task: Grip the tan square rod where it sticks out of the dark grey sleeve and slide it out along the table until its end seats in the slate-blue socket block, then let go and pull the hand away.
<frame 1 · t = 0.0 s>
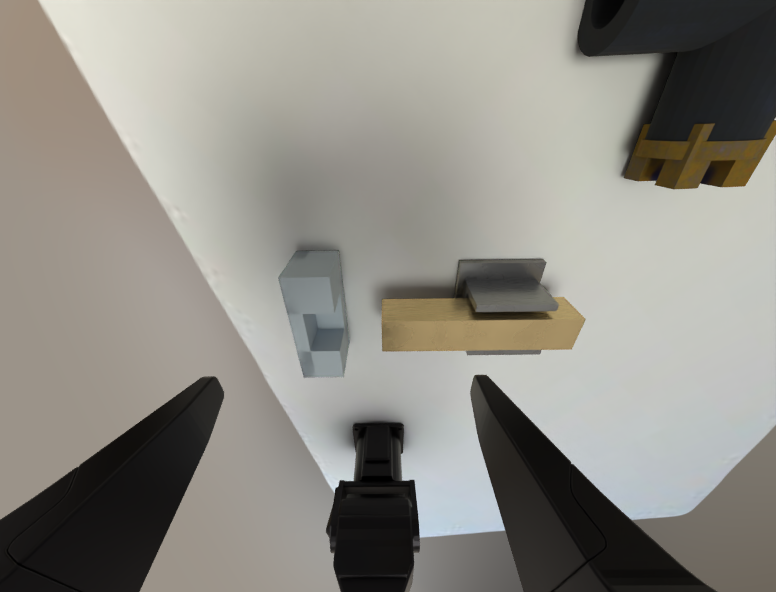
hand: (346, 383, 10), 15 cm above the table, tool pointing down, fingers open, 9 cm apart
grey sleeve: (492, 299, 26), on the table
pipe connector: (685, 73, 17), on the table
slate-blue socket: (325, 301, 26), on the table
tan square rod: (474, 323, 23), point 3 cm above the table, slide at 0.0 cm
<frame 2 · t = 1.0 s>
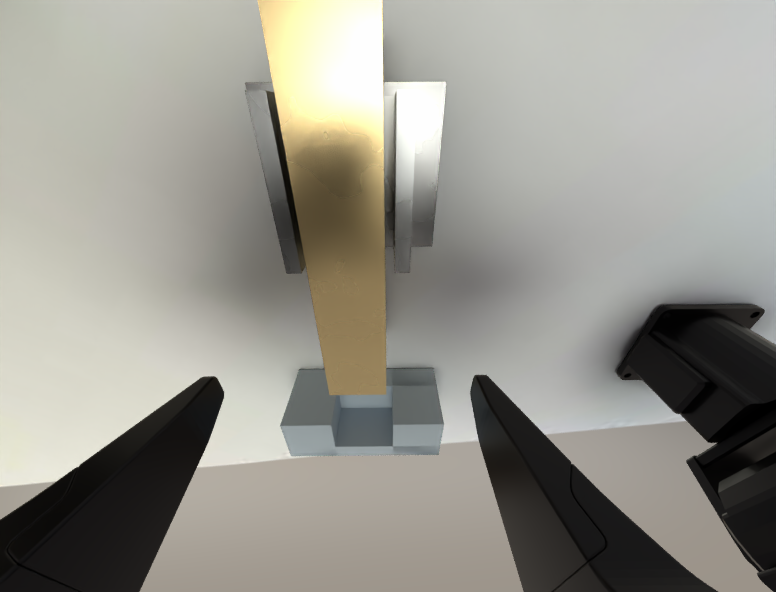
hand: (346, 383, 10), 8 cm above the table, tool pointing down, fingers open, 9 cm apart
grey sleeve: (353, 174, 13), on the table
slate-blue socket: (367, 384, 22), on the table
tan square rod: (349, 251, 12), point 4 cm above the table, slide at 0.0 cm
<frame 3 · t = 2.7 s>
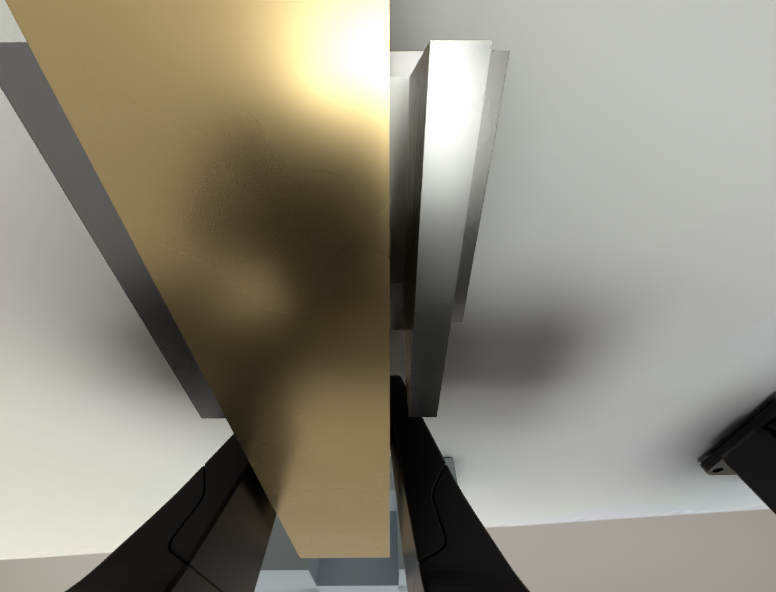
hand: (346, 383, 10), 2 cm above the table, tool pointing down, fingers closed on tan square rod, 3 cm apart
grey sleeve: (336, 214, 8), on the table
slate-blue socket: (363, 474, 16), on the table
tan square rod: (324, 365, 7), point 3 cm above the table, slide at 0.0 cm, touching gripper
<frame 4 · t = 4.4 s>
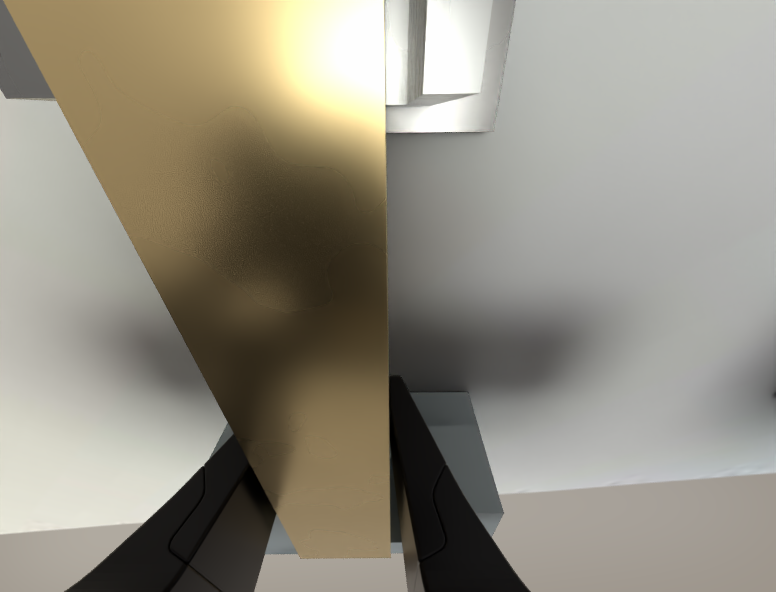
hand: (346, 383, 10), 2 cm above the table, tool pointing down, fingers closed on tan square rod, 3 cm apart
slate-blue socket: (358, 417, 13), on the table
tan square rod: (324, 364, 6), point 4 cm above the table, slide at 5.5 cm, touching gripper
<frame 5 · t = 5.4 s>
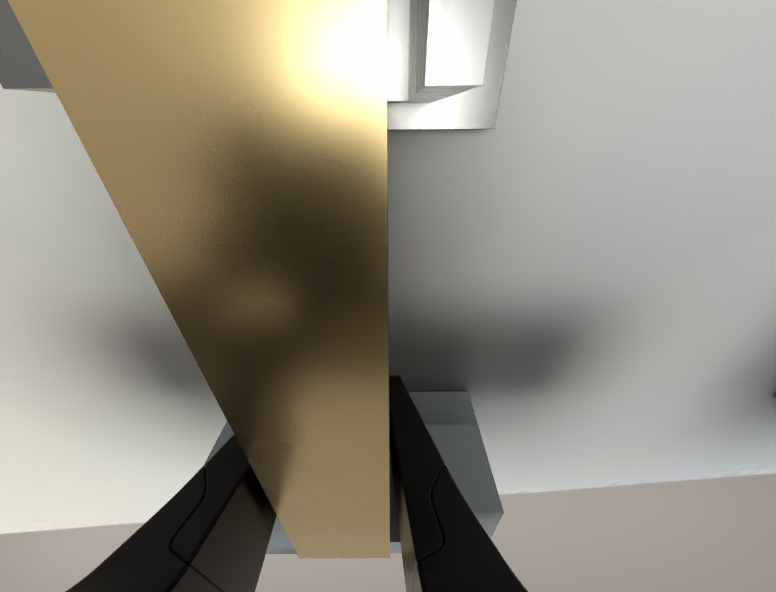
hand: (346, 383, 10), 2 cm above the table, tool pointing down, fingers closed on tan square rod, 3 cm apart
slate-blue socket: (357, 416, 13), on the table
tan square rod: (323, 362, 6), point 3 cm above the table, slide at 5.5 cm, touching gripper
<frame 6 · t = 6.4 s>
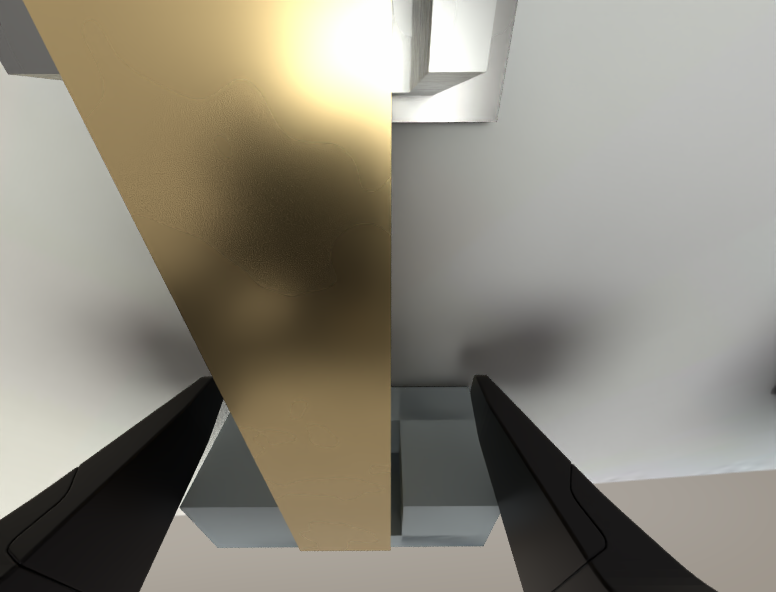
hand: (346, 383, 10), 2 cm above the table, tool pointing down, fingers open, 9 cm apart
slate-blue socket: (358, 411, 13), on the table
tan square rod: (325, 354, 6), point 4 cm above the table, slide at 5.5 cm
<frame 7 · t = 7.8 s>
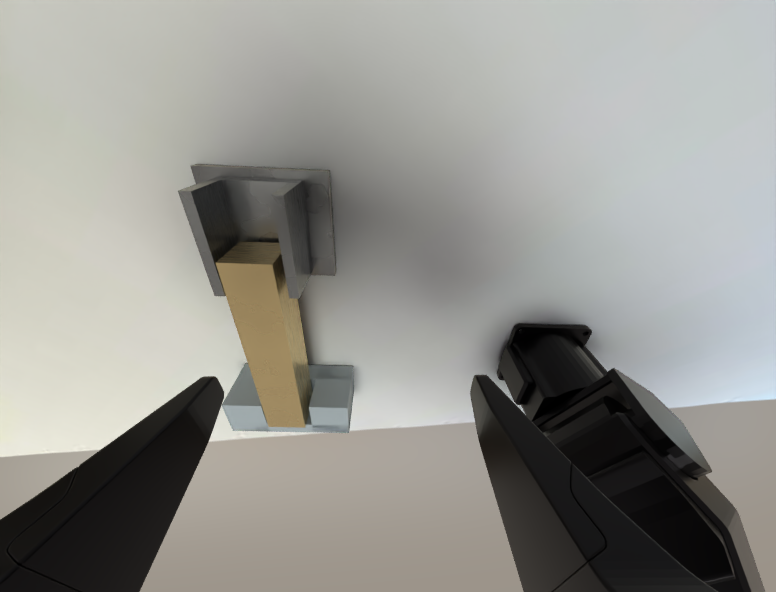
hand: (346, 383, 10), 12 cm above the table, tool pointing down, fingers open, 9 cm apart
grey sleeve: (273, 223, 19), on the table
slate-blue socket: (301, 377, 27), on the table
tan square rod: (277, 347, 20), point 4 cm above the table, slide at 5.5 cm
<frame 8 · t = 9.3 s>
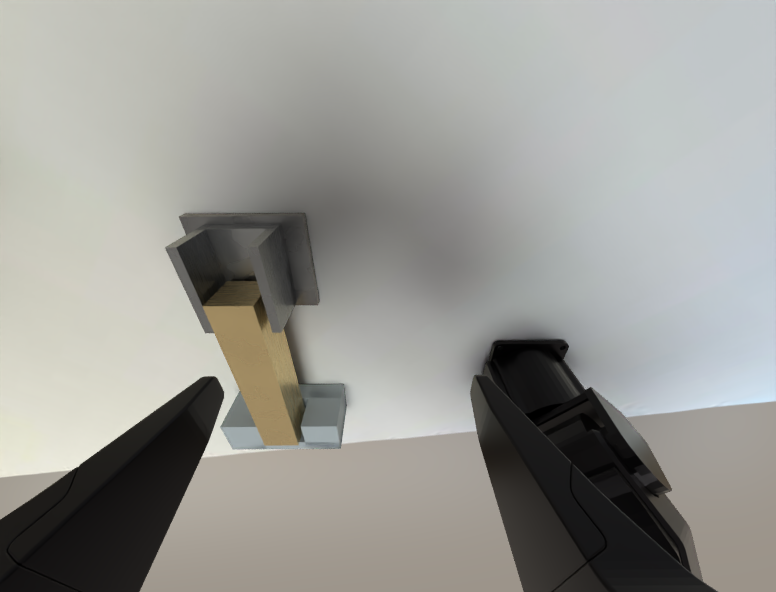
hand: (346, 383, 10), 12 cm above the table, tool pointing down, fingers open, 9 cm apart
grey sleeve: (258, 261, 20), on the table
slate-blue socket: (296, 395, 29), on the table
tan square rod: (267, 373, 22), point 4 cm above the table, slide at 5.5 cm
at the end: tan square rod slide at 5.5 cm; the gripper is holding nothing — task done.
